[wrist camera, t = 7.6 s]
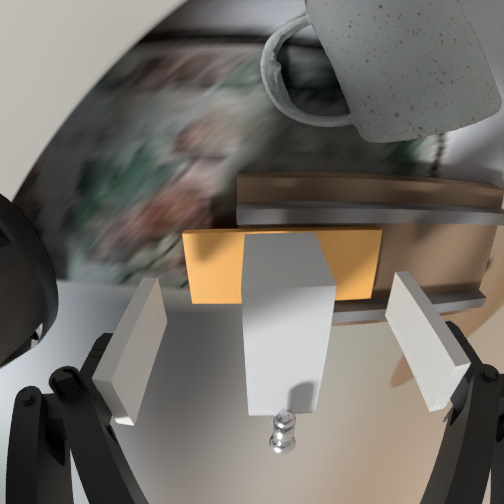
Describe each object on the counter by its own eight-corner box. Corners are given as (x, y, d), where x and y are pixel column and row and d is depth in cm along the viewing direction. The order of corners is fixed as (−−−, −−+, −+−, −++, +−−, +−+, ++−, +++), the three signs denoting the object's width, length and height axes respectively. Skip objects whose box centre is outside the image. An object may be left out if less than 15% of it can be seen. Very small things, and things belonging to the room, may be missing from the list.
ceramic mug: (393, -19, 12) (457, -63, 5) (448, 97, 15) (532, 110, 8) (233, 34, 14) (213, -11, 7) (300, 158, 17) (327, 199, 10)
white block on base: (196, 314, 20) (173, 412, 13) (181, 209, 17) (134, 288, 10) (365, 308, 20) (403, 400, 13) (381, 206, 16) (452, 278, 10)
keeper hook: (256, 330, 21) (256, 460, 12) (254, 290, 19) (254, 426, 11) (291, 329, 21) (308, 457, 12) (294, 288, 19) (316, 423, 11)
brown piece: (244, 315, 22) (243, 341, 20) (237, 172, 17) (234, 184, 15) (462, 300, 22) (477, 320, 19) (492, 184, 17) (515, 196, 15)
